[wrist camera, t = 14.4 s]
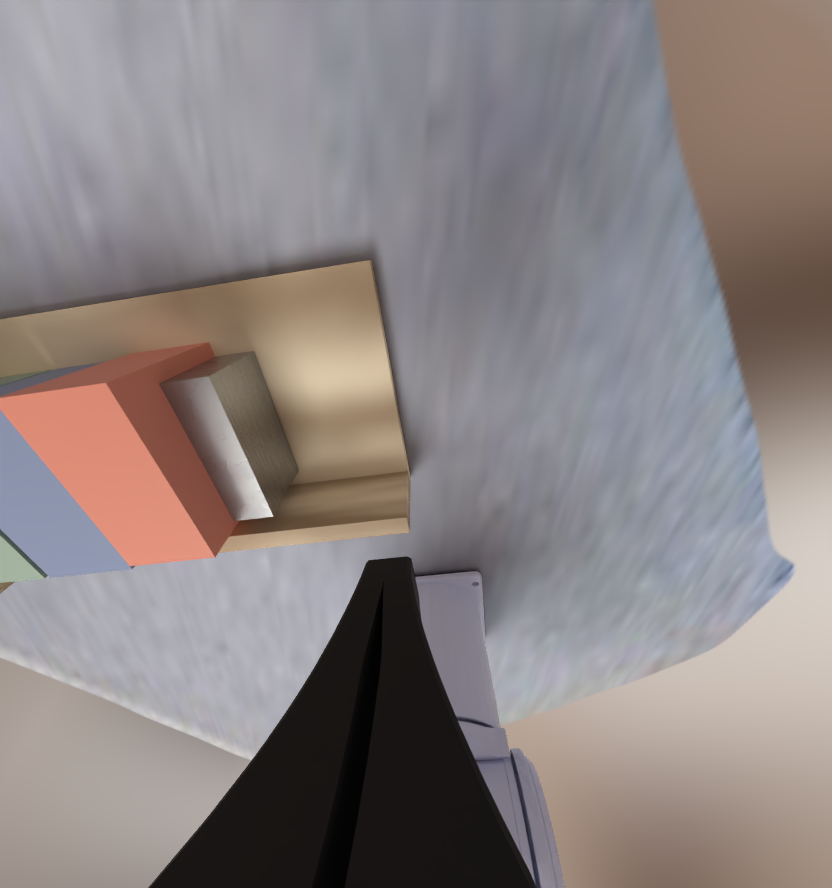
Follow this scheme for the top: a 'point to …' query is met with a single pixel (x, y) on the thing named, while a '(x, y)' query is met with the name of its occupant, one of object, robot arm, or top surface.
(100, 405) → the orange rectangular block
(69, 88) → the top surface
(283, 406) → the shelf
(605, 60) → the top surface
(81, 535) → the book
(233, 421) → the bookend
